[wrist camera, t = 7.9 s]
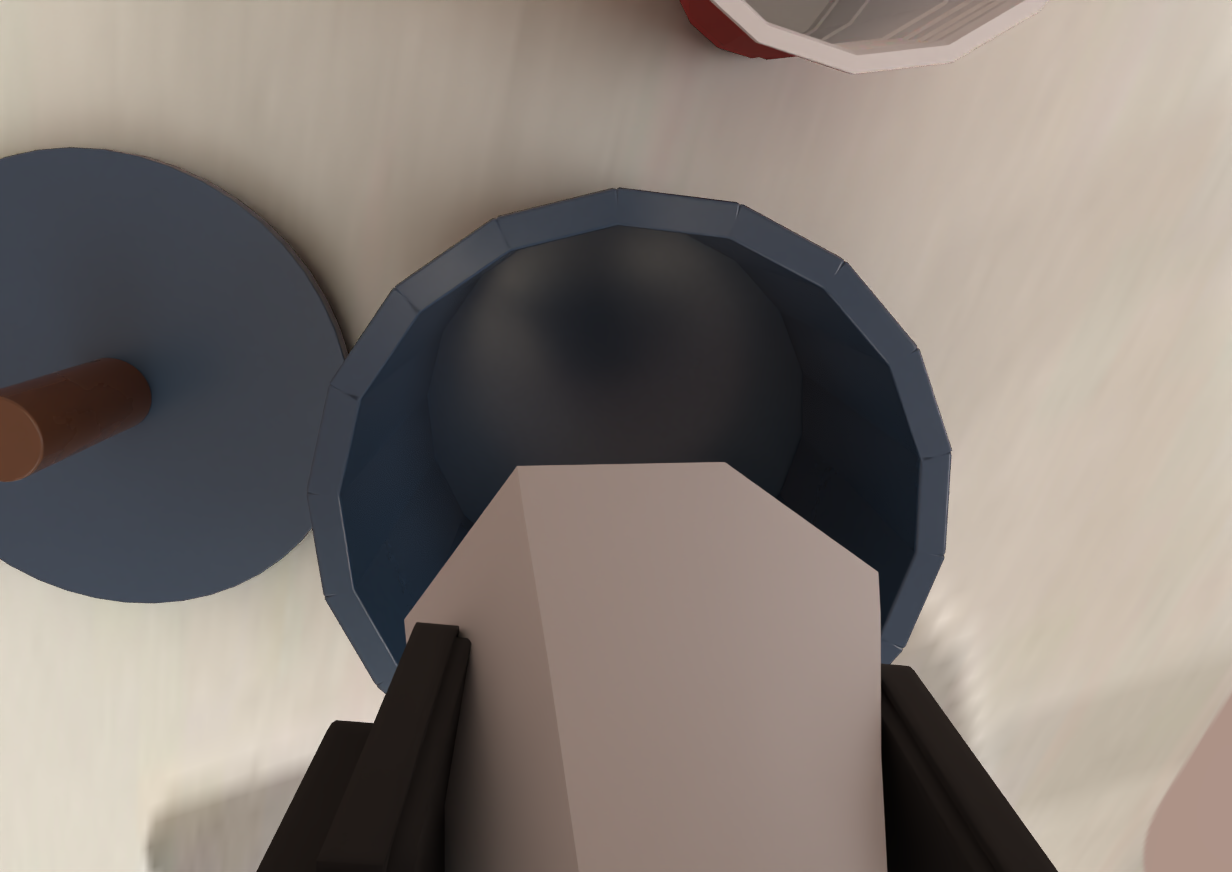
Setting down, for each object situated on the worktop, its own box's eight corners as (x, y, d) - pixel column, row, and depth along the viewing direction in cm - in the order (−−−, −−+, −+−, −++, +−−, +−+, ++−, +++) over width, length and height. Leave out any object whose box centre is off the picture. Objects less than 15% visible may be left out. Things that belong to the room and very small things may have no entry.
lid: (-131, 120, 27) (-380, 88, 20) (367, 182, 28) (295, 171, 21) (-77, 569, 31) (-265, 670, 24) (352, 607, 32) (289, 715, 25)
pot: (419, 173, 28) (311, 148, 17) (857, 228, 29) (1025, 238, 18) (398, 578, 32) (300, 770, 21) (783, 613, 33) (881, 814, 22)
